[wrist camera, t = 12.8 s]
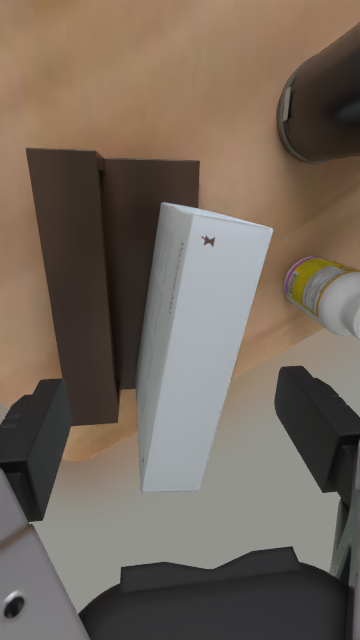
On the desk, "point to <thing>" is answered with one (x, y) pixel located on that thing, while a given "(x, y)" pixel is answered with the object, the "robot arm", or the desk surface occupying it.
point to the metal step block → (101, 263)
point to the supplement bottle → (326, 293)
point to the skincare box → (192, 338)
